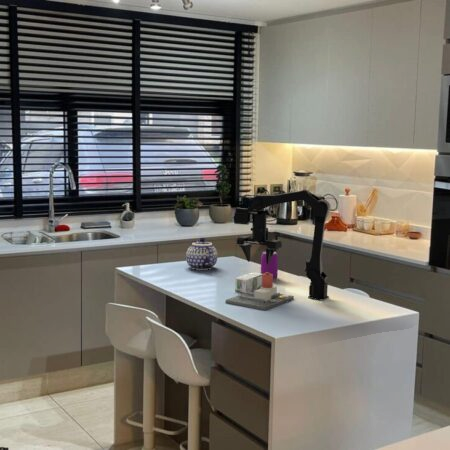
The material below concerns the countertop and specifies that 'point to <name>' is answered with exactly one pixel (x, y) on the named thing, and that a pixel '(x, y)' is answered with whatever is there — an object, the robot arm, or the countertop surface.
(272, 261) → the beverage can
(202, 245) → the teapot
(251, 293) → the panel
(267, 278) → the lockout cap
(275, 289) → the breaker
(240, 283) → the syrup box
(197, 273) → the countertop surface
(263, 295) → the block
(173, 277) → the countertop surface
